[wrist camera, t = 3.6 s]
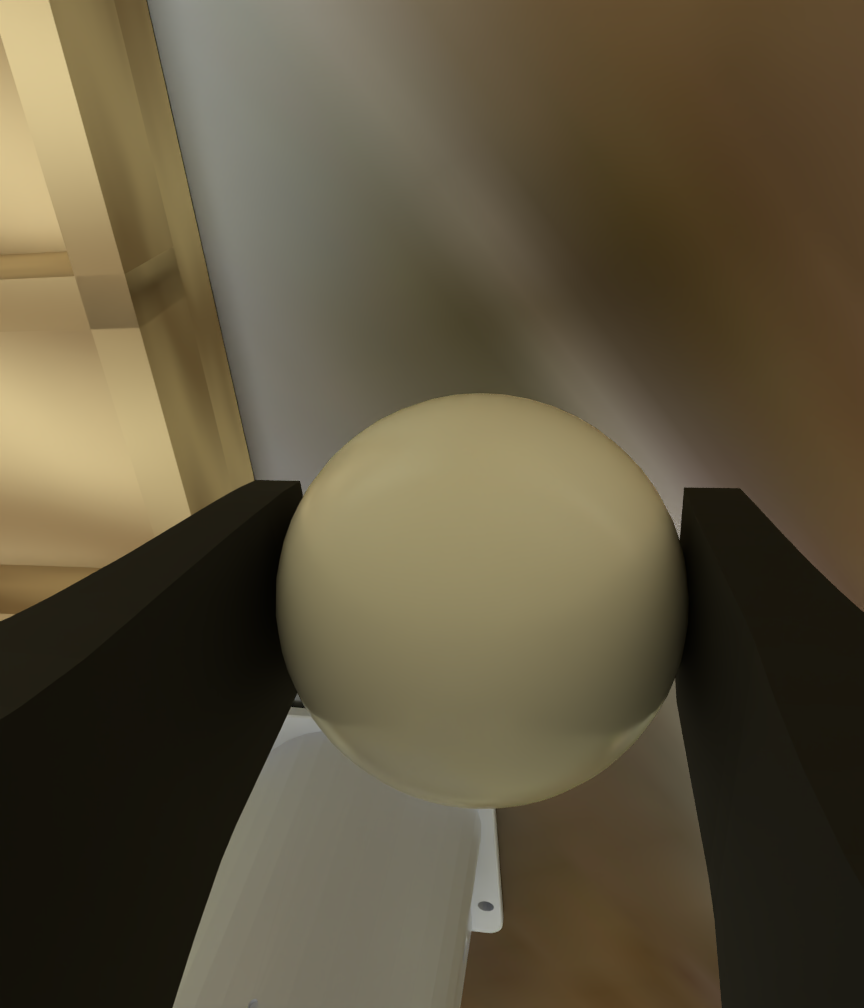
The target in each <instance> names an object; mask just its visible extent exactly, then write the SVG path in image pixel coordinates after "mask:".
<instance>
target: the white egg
mask: <svg viewBox="0 0 864 1008" xmlns="http://www.w3.org/2000/svg"><path fill="white" fill-rule="evenodd" d="M688 612H689V595H688V584H687V570H686V564H685V559H684V555H683V551H682V547H681V543H680V540H679V537H678V534H677V531H676V528H675V525H674V522H673V520H672V518H671V516H670V515H669V513H668V511H667V509H666V507H665V505H664V503H663V501H662V499H661V497H660V496H659V494H658V492H657V490H656V488H655V487H654V486H653V484H652V483H651V482H650V480H649V479H648V477H647V476H646V475H645V473H644V472H643V470H642V469H641V468H640V467H639V466H638V465H637V464H636V463H635V462H634V461H633V460H632V459H631V458H630V457H629V456H628V455H627V453H626V452H625V451H624V450H622V449H621V448H620V447H619V446H618V445H617V444H616V443H614V442H613V441H612V440H611V439H609V438H608V437H607V436H606V435H604V434H603V433H602V432H601V431H599V430H598V429H597V428H595V427H593V426H592V425H590V424H588V423H587V422H585V421H583V420H582V419H580V418H578V417H577V416H574V415H572V414H570V413H568V412H565V411H563V410H561V409H559V408H556V407H554V406H551V405H548V404H544V403H541V402H538V401H535V400H531V399H527V398H521V397H516V396H510V395H504V394H487V393H474V394H458V395H451V396H446V397H441V398H435V399H431V400H428V401H425V402H422V403H419V404H416V405H413V406H410V407H407V408H404V409H401V410H399V411H397V412H395V413H393V414H391V415H389V416H387V417H385V418H382V419H380V420H378V421H377V422H375V423H374V424H373V425H371V426H370V427H368V428H367V429H365V430H364V431H362V432H361V433H359V434H358V435H357V436H355V437H354V438H353V439H351V440H350V441H349V442H348V443H347V444H346V445H345V446H343V447H342V448H341V449H340V450H339V451H338V452H337V453H336V454H335V455H334V456H333V457H332V458H331V459H330V460H329V461H328V463H327V464H326V465H325V467H324V468H323V469H322V470H321V472H320V473H319V474H318V475H317V477H316V478H315V479H314V480H313V482H312V483H311V484H310V486H309V487H308V489H307V491H306V492H305V494H304V496H303V498H302V500H301V501H300V503H299V505H298V507H297V509H296V511H295V513H294V515H293V518H292V520H291V522H290V525H289V528H288V531H287V533H286V536H285V539H284V542H283V547H282V551H281V556H280V561H279V566H278V572H277V577H276V620H277V627H278V634H279V639H280V644H281V649H282V654H283V657H284V660H285V664H286V667H287V670H288V673H289V675H290V677H291V679H292V682H293V684H294V686H295V688H296V690H297V693H298V695H299V697H300V699H301V701H302V703H303V705H304V706H305V708H306V709H307V711H308V713H309V714H310V716H311V717H312V719H313V720H314V721H315V723H316V724H317V725H318V726H319V728H320V729H321V730H322V732H323V733H324V734H325V735H326V736H327V738H328V739H329V740H330V741H331V743H332V744H333V745H334V746H335V747H336V748H337V749H338V750H339V751H340V752H341V753H342V754H344V755H345V756H346V757H347V758H348V759H349V760H351V761H352V762H353V763H354V764H356V765H357V766H358V767H360V768H361V769H362V770H364V771H365V772H367V773H368V774H370V775H371V776H373V777H375V778H376V779H378V780H379V781H381V782H382V783H384V784H386V785H388V786H390V787H392V788H394V789H396V790H398V791H400V792H403V793H405V794H408V795H410V796H412V797H415V798H418V799H422V800H425V801H428V802H432V803H436V804H440V805H445V806H451V807H458V808H468V809H497V808H506V807H513V806H520V805H527V804H531V803H535V802H539V801H543V800H546V799H549V798H551V797H554V796H557V795H560V794H562V793H564V792H566V791H568V790H570V789H572V788H574V787H576V786H578V785H580V784H582V783H584V782H586V781H588V780H590V779H592V778H593V777H595V776H596V775H598V774H599V773H601V772H602V771H603V770H605V769H606V768H607V767H609V766H610V765H611V764H612V763H613V762H615V761H616V760H617V759H618V758H619V757H620V756H621V755H622V754H624V753H625V752H626V751H627V750H628V749H629V748H630V747H631V746H632V745H633V744H634V743H635V742H636V741H637V739H638V738H639V737H640V736H641V735H642V733H643V732H644V731H645V730H646V728H647V727H648V726H649V724H650V723H651V722H652V720H653V719H654V717H655V716H656V715H657V713H658V711H659V709H660V708H661V706H662V704H663V702H664V701H665V699H666V697H667V695H668V693H669V690H670V688H671V686H672V684H673V681H674V679H675V676H676V673H677V671H678V668H679V665H680V663H681V659H682V654H683V649H684V644H685V639H686V633H687V628H688Z"/></svg>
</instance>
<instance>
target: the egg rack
mask: <svg viewBox="0 0 864 1008" xmlns="http://www.w3.org/2000/svg"><path fill="white" fill-rule="evenodd" d="M252 481H254V476H253V472H252V467H251V463H250V458H249V454H248V450H247V445H246V441H245V436H244V432H243V427H242V423H241V419H240V414H239V410H238V405H237V401H236V396H235V392H234V387H233V383H232V379H231V374H230V370H229V365H228V361H227V356H226V352H225V348H224V343H223V339H222V334H221V330H220V325H219V321H218V317H217V312H216V308H215V303H214V299H213V294H212V290H211V285H210V281H209V277H208V272H207V268H206V263H205V259H204V254H203V250H202V246H201V241H200V237H199V232H198V228H197V223H196V219H195V214H194V210H193V206H192V201H191V197H190V192H189V188H188V183H187V179H186V175H185V170H184V166H183V161H182V157H181V152H180V148H179V143H178V139H177V135H176V130H175V126H174V121H173V117H172V112H171V108H170V104H169V99H168V95H167V90H166V86H165V81H164V77H163V72H162V68H161V64H160V59H159V55H158V50H157V46H156V41H155V37H154V33H153V28H152V24H151V19H150V15H149V10H148V6H147V1H146V0H0V621H2V620H4V619H6V618H9V617H11V616H13V615H15V614H17V613H19V612H21V611H23V610H25V609H27V608H29V607H31V606H33V605H35V604H37V603H39V602H41V601H43V600H45V599H47V598H49V597H51V596H53V595H54V594H56V593H58V592H60V591H62V590H63V589H65V588H67V587H69V586H71V585H72V584H74V583H76V582H78V581H80V580H81V579H83V578H85V577H87V576H89V575H90V574H92V573H94V572H96V571H98V570H99V569H101V568H103V567H105V566H107V565H108V564H110V563H112V562H114V561H116V560H117V559H119V558H121V557H123V556H125V555H126V554H128V553H130V552H131V551H133V550H135V549H136V548H138V547H140V546H141V545H143V544H145V543H146V542H148V541H150V540H151V539H153V538H155V537H156V536H158V535H160V534H161V533H163V532H165V531H166V530H168V529H169V528H171V527H173V526H174V525H176V524H178V523H179V522H181V521H183V520H184V519H186V518H188V517H189V516H191V515H193V514H194V513H196V512H198V511H199V510H201V509H203V508H204V507H206V506H208V505H209V504H211V503H213V502H214V501H216V500H218V499H219V498H221V497H223V496H225V495H226V494H228V493H230V492H232V491H234V490H236V489H238V488H239V487H241V486H243V485H246V484H248V483H250V482H252Z"/></svg>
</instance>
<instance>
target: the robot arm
mask: <svg viewBox="0 0 864 1008" xmlns="http://www.w3.org/2000/svg"><path fill="white" fill-rule="evenodd" d="M302 498H303V494H302V489H301V484H300V481H268V480H255V481H252V482H250V483H248V484H246V485H243V486H241V487H239V488H238V489H236V490H234V491H232V492H230V493H228V494H226V495H225V496H223V497H221V498H219V499H218V500H216V501H214V502H213V503H211V504H209V505H208V506H206V507H204V508H203V509H201V510H199V511H198V512H196V513H194V514H193V515H191V516H189V517H188V518H186V519H184V520H183V521H181V522H179V523H178V524H176V525H174V526H173V527H171V528H169V529H168V530H166V531H165V532H163V533H161V534H160V535H158V536H156V537H155V538H153V539H151V540H150V541H148V542H146V543H145V544H143V545H141V546H140V547H138V548H136V549H135V550H133V551H131V552H130V553H128V554H126V555H125V556H123V557H121V558H119V559H117V560H116V561H114V562H112V563H110V564H108V565H107V566H105V567H103V568H101V569H99V570H98V571H96V572H94V573H92V574H90V575H89V576H87V577H85V578H83V579H81V580H80V581H78V582H76V583H74V584H72V585H71V586H69V587H67V588H65V589H63V590H62V591H60V592H58V593H56V594H54V595H53V596H51V597H49V598H47V599H45V600H43V601H41V602H39V603H37V604H35V605H33V606H31V607H29V608H27V609H25V610H23V611H21V612H19V613H17V614H15V615H13V616H11V617H9V618H6V619H4V620H2V621H0V1008H460V1006H461V999H462V992H463V985H464V978H465V972H466V965H467V958H468V951H469V944H470V937H471V931H477V932H485V933H494V932H498V931H499V930H500V929H502V925H503V917H504V916H503V903H502V889H501V876H500V862H499V849H498V835H497V821H496V809H468V808H458V807H451V806H445V805H440V804H436V803H432V802H428V801H425V800H422V799H418V798H415V797H412V796H410V795H408V794H405V793H403V792H400V791H398V790H396V789H394V788H392V787H390V786H388V785H386V784H384V783H382V782H381V781H379V780H378V779H376V778H375V777H373V776H371V775H370V774H368V773H367V772H365V771H364V770H362V769H361V768H360V767H358V766H357V765H356V764H354V763H353V762H352V761H351V760H349V759H348V758H347V757H346V756H345V755H344V754H342V753H341V752H340V751H339V750H338V749H337V748H336V747H335V746H334V745H333V744H332V743H331V741H330V740H329V739H328V738H327V736H326V735H325V734H324V733H323V732H322V730H321V729H320V728H319V726H318V725H317V724H316V723H315V721H314V720H313V719H312V717H311V716H310V714H309V713H308V711H307V709H306V708H295V707H291V706H292V704H293V701H294V699H295V697H296V695H297V690H296V688H295V686H294V684H293V682H292V679H291V677H290V675H289V673H288V670H287V667H286V664H285V660H284V657H283V654H282V649H281V644H280V639H279V634H278V627H277V620H276V577H277V572H278V566H279V561H280V556H281V551H282V547H283V542H284V539H285V536H286V533H287V531H288V528H289V525H290V522H291V520H292V518H293V515H294V513H295V511H296V509H297V507H298V505H299V503H300V501H301V500H302ZM680 543H681V547H682V551H683V555H684V559H685V564H686V570H687V584H688V595H689V612H688V628H687V633H686V639H685V644H684V649H683V654H682V659H681V663H680V665H679V668H678V671H677V673H676V676H675V682H676V698H677V706H678V711H679V717H680V723H681V728H682V734H683V739H684V745H685V750H686V756H687V762H688V767H689V772H690V778H691V783H692V789H693V794H694V799H695V805H696V810H697V816H698V821H699V826H700V832H701V837H702V843H703V848H704V854H705V859H706V864H707V870H708V875H709V882H710V889H711V897H712V904H713V911H714V918H715V930H716V942H717V954H718V966H719V978H720V989H721V1001H722V1008H864V612H863V611H861V610H860V609H859V608H858V607H857V606H856V605H855V604H854V603H852V602H851V601H850V600H849V599H848V598H847V597H846V596H845V595H844V594H842V593H841V592H840V591H839V590H838V589H837V588H836V587H835V586H834V585H833V584H832V583H831V582H830V581H829V580H828V579H827V578H826V577H825V576H823V575H822V574H821V573H820V572H819V571H818V570H817V569H816V568H815V567H814V566H813V565H812V564H811V563H810V562H809V561H808V560H807V559H806V558H805V557H804V556H803V555H802V554H801V553H800V552H799V551H798V550H797V549H796V547H795V546H794V545H793V544H792V543H791V542H790V541H789V540H788V539H787V538H786V537H785V536H784V535H783V534H782V533H781V532H780V531H779V530H778V528H777V527H776V526H775V525H774V524H773V523H772V522H771V521H770V520H769V519H768V518H767V517H766V515H765V514H764V513H763V512H762V511H761V510H760V509H759V508H758V507H757V506H756V505H755V504H754V503H753V502H752V501H751V499H750V498H749V497H748V496H747V495H746V494H745V493H744V492H743V491H742V490H741V489H738V488H684V496H683V508H682V520H681V532H680Z"/></svg>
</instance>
